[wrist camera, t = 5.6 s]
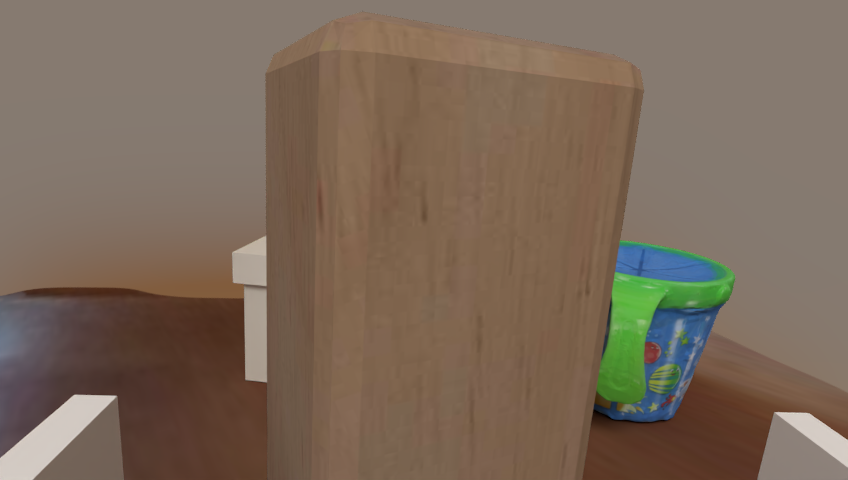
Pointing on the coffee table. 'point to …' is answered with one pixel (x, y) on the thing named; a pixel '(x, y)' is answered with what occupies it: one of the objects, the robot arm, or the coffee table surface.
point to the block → (439, 250)
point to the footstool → (253, 305)
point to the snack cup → (657, 329)
